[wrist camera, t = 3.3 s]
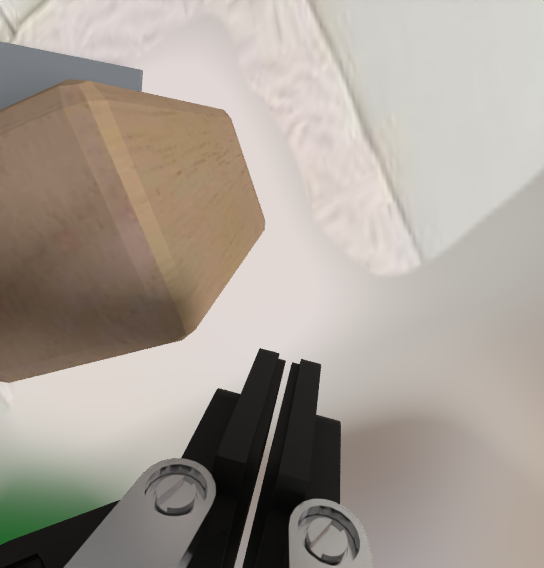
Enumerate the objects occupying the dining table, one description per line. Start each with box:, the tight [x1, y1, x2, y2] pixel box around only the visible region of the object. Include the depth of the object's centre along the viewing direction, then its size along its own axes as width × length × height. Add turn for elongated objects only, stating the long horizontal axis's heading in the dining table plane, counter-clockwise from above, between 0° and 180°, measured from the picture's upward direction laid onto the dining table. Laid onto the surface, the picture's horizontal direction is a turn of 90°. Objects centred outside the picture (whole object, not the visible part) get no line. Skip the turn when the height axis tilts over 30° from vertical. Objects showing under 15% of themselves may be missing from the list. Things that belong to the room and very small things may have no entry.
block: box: [0, 79, 265, 383], centre depth 24 cm, size 10×10×20 cm
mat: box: [0, 42, 143, 109], centre depth 35 cm, size 20×16×1 cm
